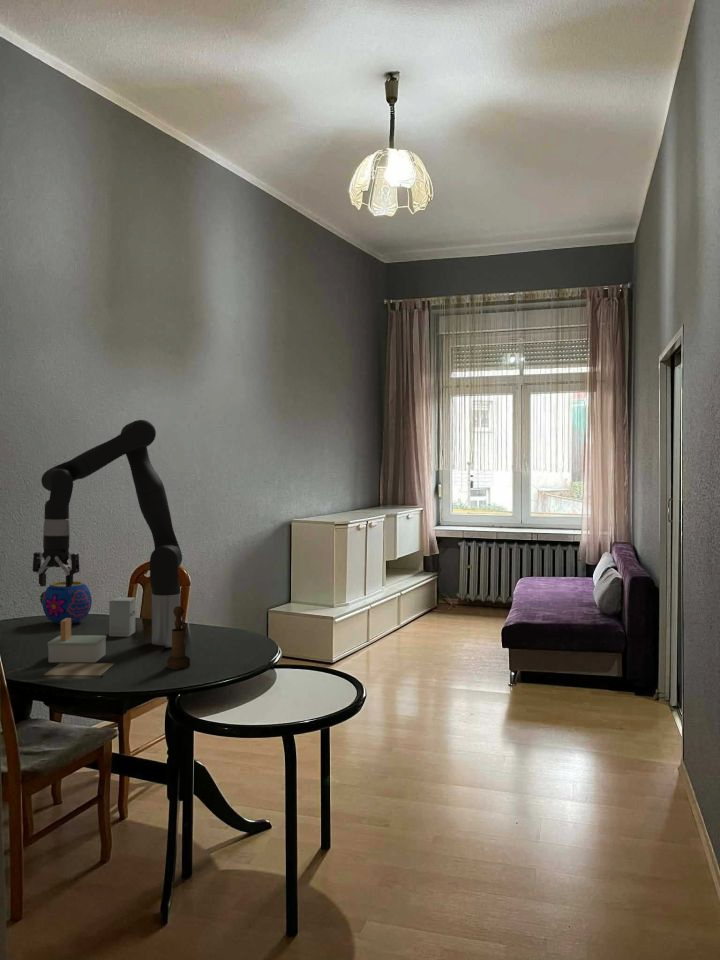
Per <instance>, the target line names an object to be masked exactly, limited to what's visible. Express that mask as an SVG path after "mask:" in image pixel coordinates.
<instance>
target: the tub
mask: <svg viewBox="0 0 720 960" xmlns="http://www.w3.org/2000/svg"><path fill="white" fill-rule="evenodd" d="M106 639H107V638H106ZM106 639H104V640H103V641H102V642H100V643H99V644H98V645H96V646H47V647H48V657H47V658H48V660H47V661H48V663H96V662H97V663H98V661H100V659H102V658H103V657H104V656H106V654H107V653H106V651H107V648H106Z"/></svg>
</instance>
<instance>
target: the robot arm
mask: <svg viewBox="0 0 720 960" xmlns="http://www.w3.org/2000/svg"><path fill="white" fill-rule="evenodd" d="M156 433H157V431H156V428H155V426H154V425H153V423H152V422H150V421H148V420H145V419H138V420H134V421H131V422H130V423H127V424H126V425H124V426H123V427H122V429H121V431H120V434H118V435H116V436H115V437H113V438H111V439H110V440H107V441H105V442H103V443H101V444H99V445H96V446H94V447H92V448H89V449H87V450H86V451H84V452H81V454H78V455H77V456H75V457H73V458H72V459H70V460H68V461H65V462H63V463H60V464H57V465H55V466H53V467H51V468H49V469H47V470H46V471H45V472H44V473H43V474H42V476H41V479H40V480H41V485H42V487H43V488H44V489H45V490H47V491H49V493H50V494H49V499H48V500H47V501H45V502H44V503H45V505H44V522H43V531H42V532H43V535H42V536H43V537H42V538H43V540H42V541H43V543H42V545H43V546H42V548H43V551H42V552H41V551H37V552H34V553H33V555H32V556H33V558H32V572H33V573H36V574H38V584H39V586H40V587H41V588H42V587H46V586H47V573H46V572H47V571H48V570H49V569H50V568H54V567H55V568H61V569H62V570H63V571H64V573H65V574H66V575H65V582H66V587H71V586H72V585H73V582H74V575H75V574H78V573H79V572H80V556H79V555H80V554H79V553H78V552H75V553H70V552H69V550H70V529H71V528H70V520H69V519H70V507H69V506H70V503H71V498H72V493H73V489H74V482H75V481H77V480H83V479H86V478H88V477H90V475H93V474H94V473H96V472H97V471H100V470H101V469H103V468H104V467H106V466H107V465H109V464H111V463H112V462H114V461H116V460H117V459H119V458H121V457H122V456H124V455H125V456H126V458H127V461H128V464H129V468H130V472H131V476H132V481H133V484H134V488H135V493H136V497H137V502H138V506H139V509H140V511H141V514H142V516H143V518H144V520H145V522H146V524H147V526H148V528H149V530H150V533H151V536H152V539H153V544H154V546H153V547H154V549H153V551H152V552H151V554H150V556H149V583H150V587H151V644H152V645H155V646H164V647H163V648H164V649H165V648H172V630H173V629H176V627H175V621H176V617H175V615H174V613H173V610H174V608H175V607H178V606H181V585H180V581H179V567H180V566H181V564H182V562H183V555H182V551H181V547H180V544H179V542H178V540H177V536H176V534H175V531H174V527H173V523H172V516H171V512H170V507H169V502H168V497H167V493H166V489H165V486H164V483H163V481H162V480H161V477H160V476H159V474H158V473H157V472H156V470H155V469H154V466H153V465H152V463H151V460H150V457H149V451H148V447H149V446H150V445H152V443H153V442H154V441H155V439H156V435H157V434H156ZM42 559H43V560H44V561H43V563H42ZM68 560H70V561H71V564H70V562H69V561H68ZM181 621H182V622H183V616H182V617H181ZM181 628H183V625H182V626H181Z"/></svg>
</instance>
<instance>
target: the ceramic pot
mask: <svg viewBox="0 0 720 960" xmlns="http://www.w3.org/2000/svg"><path fill="white" fill-rule="evenodd" d="M39 596H40V597H39V601H40V603H41V606H42V610H43V613H44V615H45V616H46V618H47V620H49V621H51V622H53V623H55V624H58V625H61V621H62V620H64V619H65V618H71V625H73V623H74V624H76V623H78V622H81V621H83V620H84V619H86V618H87V617H88V615H89V613H90V611H91V609H92V603H93V602H92V595H91V592H90V588H89V587H88V586H87V585H86V583H84V582H81V581H73V585H72V586H71V587H66V581H59V582H52V584H50V585H49V586H48V587H46V589H45V591H43V592H42V593H41V595H39Z"/></svg>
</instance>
